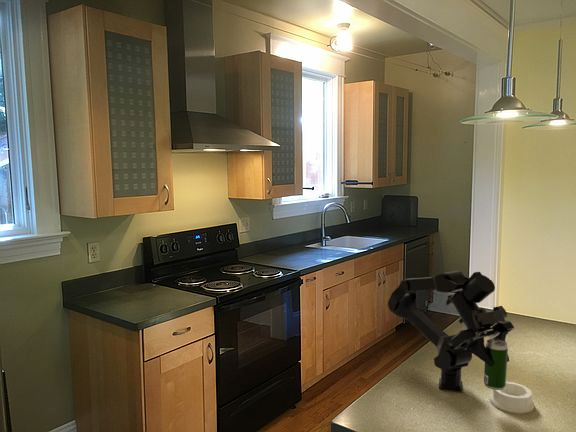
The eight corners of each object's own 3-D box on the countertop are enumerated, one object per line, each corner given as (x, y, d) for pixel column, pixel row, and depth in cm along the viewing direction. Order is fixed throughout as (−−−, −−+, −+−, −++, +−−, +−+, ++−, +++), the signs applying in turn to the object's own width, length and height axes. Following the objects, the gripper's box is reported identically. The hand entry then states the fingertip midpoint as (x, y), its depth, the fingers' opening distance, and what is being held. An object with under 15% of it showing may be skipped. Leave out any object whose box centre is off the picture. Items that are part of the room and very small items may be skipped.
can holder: (488, 391, 138) (489, 378, 138) (531, 397, 134) (531, 383, 134) (490, 409, 128) (491, 395, 127) (536, 417, 124) (537, 402, 124)
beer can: (491, 391, 124) (494, 347, 122) (479, 382, 129) (481, 339, 127) (510, 389, 125) (512, 345, 123) (496, 380, 130) (499, 337, 129)
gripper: (461, 301, 123) (495, 358, 115) (510, 292, 132) (545, 344, 123) (438, 321, 131) (467, 375, 123) (485, 311, 140) (516, 361, 131)
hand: (500, 363), depth 125 cm, fingers closed on beer can, 5 cm apart
